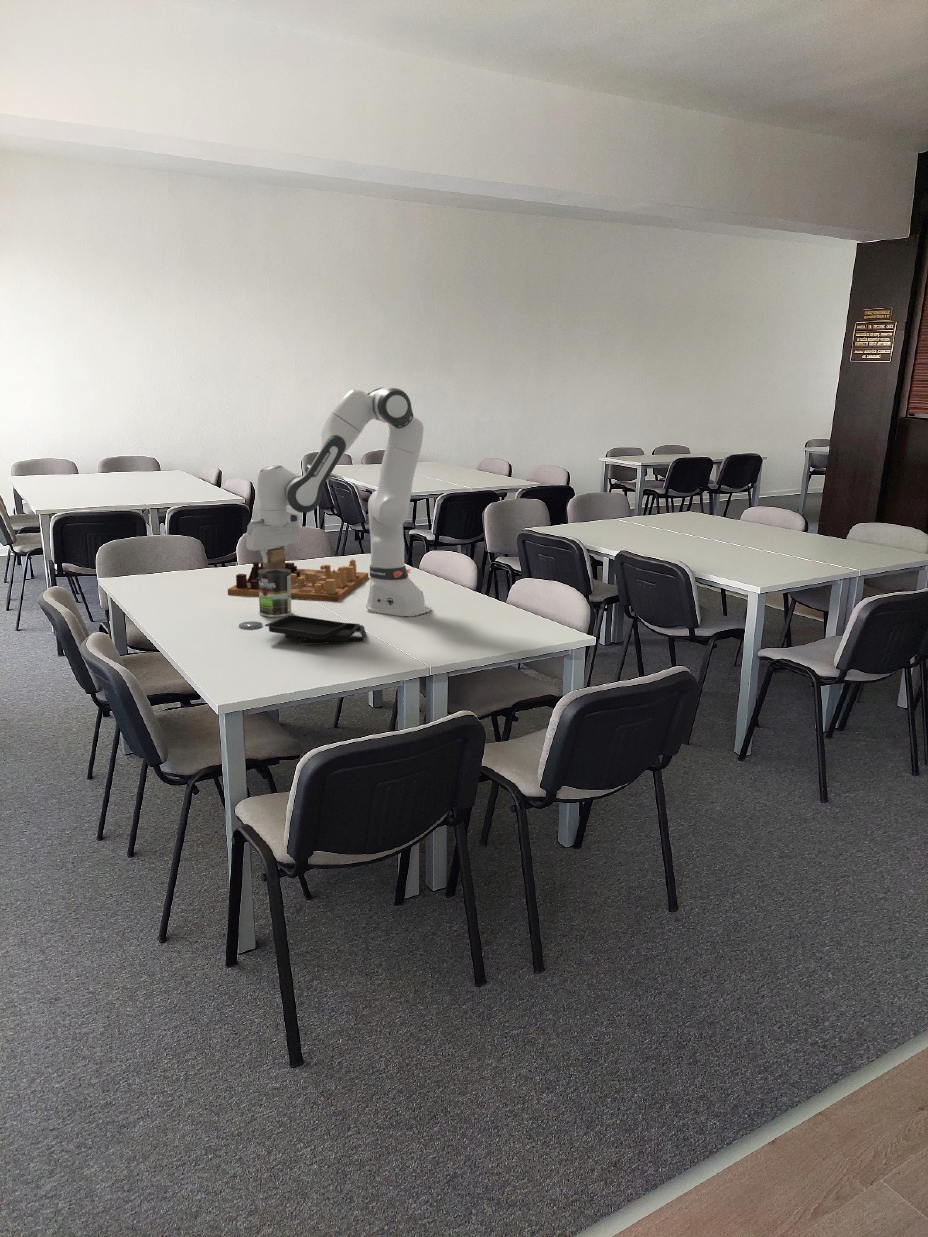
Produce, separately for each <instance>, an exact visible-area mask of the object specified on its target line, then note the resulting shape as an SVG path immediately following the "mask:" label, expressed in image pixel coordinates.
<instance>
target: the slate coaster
mask: <svg viewBox="0 0 928 1237" xmlns="http://www.w3.org/2000/svg"><path fill="white" fill-rule="evenodd" d="M262 627H263V622H260V621H254V620H253V621H251V620H250V621H243V622H240V623H239V624H238V628H239V629H242V630H257V629H261V628H262Z"/></svg>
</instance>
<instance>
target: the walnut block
mask: <svg viewBox="0 0 928 1237" xmlns="http://www.w3.org/2000/svg"><path fill="white" fill-rule="evenodd" d="M266 553H267V556H268V557H270V562H268V563H264V562H263V561H262V562H263V568H268V569H273V570H275V569H280V568H285V563H286V553H285V549H283V548H280V547H274V548H269V549H267V552H266Z"/></svg>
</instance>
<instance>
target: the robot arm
mask: <svg viewBox="0 0 928 1237" xmlns="http://www.w3.org/2000/svg"><path fill="white" fill-rule="evenodd" d="M372 420H376V421H378V422H379V421H380V422H383V423H384V424H385V423H386V424H387V425H388V427H389V430H388V431H389V432H388V433H389V436H388V439H387V443H386V447H385V449H384V454H383V456H382V457H383V458H382V461H381V466H380V470H379V472H380V473H379V480H378V488H377V490H375V491H373V493H372V494H371V495H370V496H369V498H368V502H367V509H368V523H369V534H370V565H369V576H370V584H369V591H368V592H369V593H368V598H367V603H366V605H365V606H366V608H367V612H369V613H376V612H377V614H385V615H389V616H390V615H391V616H392V615H393V616H398V617H404V616H409V617H415V615H416V616H420V615H419V614H421V615H423V614H422V613H424V612H427V613H429V612H431V611H432V606H431V605H427V604H426V603H425V595H424V592H423V591H422V590H421V589H420V588H419V587H418V586H417V585H416V583H415V582H414V581H412V579H411V578H410V577H409V574H410V573H411V569H407V567H406V565H405V539H404V531H403V524H404V523H405V522H406V520H407V519H408V516H409V510H410V509H409V508H410V502H411V496H412V491H413V490H412V489H413V481H414V476H415V473H416V469H417V466H418V465H417V464H418V462H419V457H420V453H421V449H422V444H423V438H424V424H423V422H422V421H421V420H420V419H419V418H418V417H416V416H414V413H413V408H412V402H411V399H410V397H409V396H408V394H407V393H406V392H405V391H404V390H402V389H400V388H397V387H394V386H393V387H392V386H385V387H379V388H376V389H374V390H372V391H370V392H368V393H366V392H365V391H362V390H361V389H351V390H349V391H348V392H347V393H346V394H345V395H344V396H343V397H342V398H341V399H340V400H339V402H337V404H336V405H335V406H334V408H333V409H332V411H331V412H330V414H329V415H328V416H327V418H326V420H325V423H324V424H323V427H322V430H321V445H320V450H319V452H318V454H317V455H316V457H315V458H314V460H313V462H312V464H311V465H310V467H309V468H308V470H307V472H306V473H305V475H303V476H302V475H299V474H297V473H295V472H292V471H290V470H288V469H286V468H285V467H284V466H282V465H277V464H276V465H270V466H266V467H264V468H262V469H261V470H260V471H259V472H258V476H257V497H258V507H257V510H258V519H257V520H250V522H249V523H248V525H247V530H246V537H245V538H246V539H245V546H246V549H247V550H248V551H254V552H257V551H259V553H260V555H261V557H262V562H264V563H268V562H270V557H268V556H267V553H266V552H267V549H269V548H274V547H277V548H283V549H285V554H286V553H287V550H288V546H291V545H295V544H296V545H297V544H299V543H300V541H301V526H300V523H299V522H300V515H298V514H295V513H291V512H289V511H288V508H287V507H288V506H290V507H291V508H292V509H293V510H294V511H296V512H298V513H301V514H303V513H304V514H308V513H311V512H313V511H314V510H316V509H317V507H318V506H319V505H320V504H321V503H320V502H321V500H322V494H323V489H324V487H325V484H326V483H327V480H328V479H329V477H330V476H331V474H332V473H333V471H334V470H335V467H336V466H337V464H338V463H339V461H340V460H341V458H342V457H343V456H344V455H345V454H346V452H347V451H348V450H349V449H350V448H351V447H352V446H353V444H354V443H355V442H356V440H357V439H358V438H359V436H360V435H361V433H362V432H363V430H364V428H365V427H366V425H367V424H368V423H370V421H372ZM430 610H431V611H430ZM424 614H425V613H424Z"/></svg>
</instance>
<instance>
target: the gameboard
mask: <svg viewBox="0 0 928 1237" xmlns="http://www.w3.org/2000/svg"><path fill="white" fill-rule="evenodd" d="M356 563H357V561H356V560H355V559H354V558H353V559H350V561H349V564H348V565H345V566H344V565H343V566H338V568H337V569H336V570H335V569H333V570H332V569H331V564H321V565H320V566H319V568H320V569H309V568H298V566H297V565H295V563H294V562H285V568H286V569H289V570H291V573H290V577H291V598H298V599H297V600H306V599H311V600H310V601H325V602H340V601H341V600H342V599H343V598H344V597H346V596H347V595H348V594H350V593H351V592H352V591H354V590H355V589H356V588H357V587H358V586H360V585H361V584H362V583H363V581H364V582H365V581H366V580H367V579H368V578H369V572H363V571H362V572H361V571H357V564H356ZM260 569H264V568H263V561H261V562H259V561H253V562H252V567H251V571H250V573H249V576H248V578H247V574H246V573H237V574H236V575H235V581H236V584H235V585H233V586H231V587H229V588H228V589H227V595H228V596H229V595H230V596H242V595H253V596H252V597H258V596H259V574H258V570H260Z"/></svg>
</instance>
